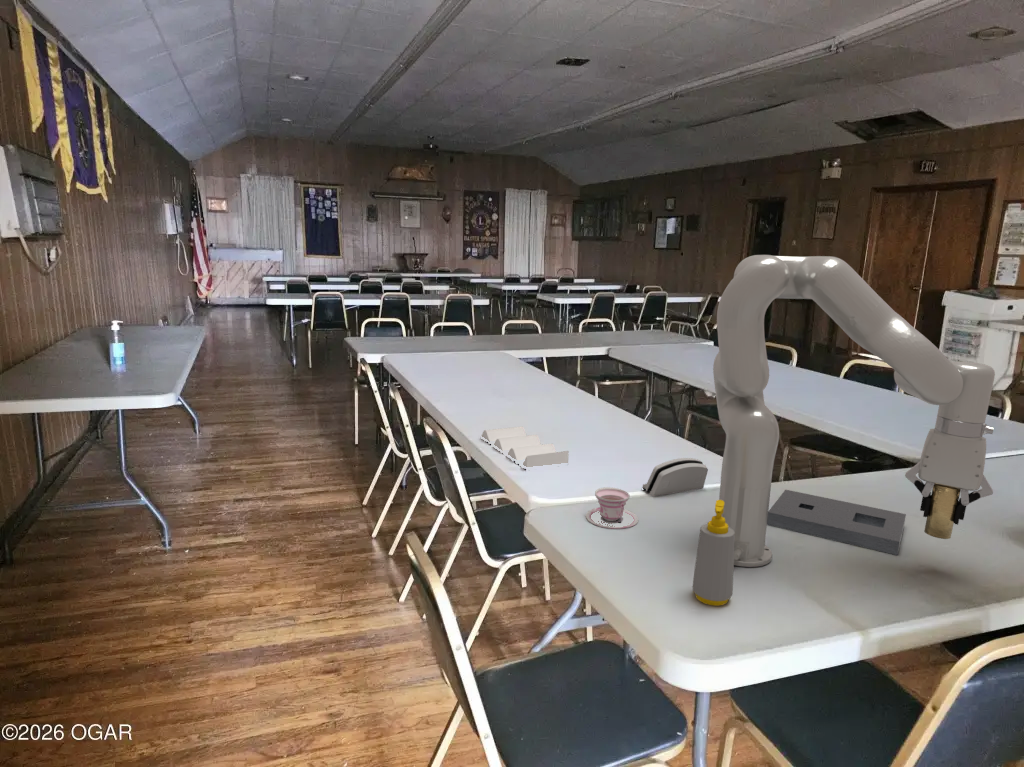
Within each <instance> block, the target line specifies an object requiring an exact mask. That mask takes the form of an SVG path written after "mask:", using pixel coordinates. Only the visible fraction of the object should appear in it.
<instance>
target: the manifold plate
mask: <svg viewBox="0 0 1024 767" xmlns="http://www.w3.org/2000/svg"><path fill="white" fill-rule="evenodd" d="M906 516H907V514H906V513H902V512H897V511H892V510H889V509H888V510H887V509H883V508H878V507H874V506H873V507H872V506H867V505H863V504H858V503H853V502H849V501H842V500H838V499H834V498H828V497H824V496H819V495H814V494H810V493H809V494H808V493H804V492H800V491H799V492H798V491H794V490H790V489H784V491H783V492H782V493H781V495H779V497H778V498H777V500H776V501H775V502H774V504H773V505H772V506H771V508H770V509H769V510H768V519H767V526H771V527H775V528H779V529H780V528H781V529H784V530H789V531H793V532H797V533H801V534H806V535H810V536H814V537H818V538H822V539H825V540H832V541H835V542H838V543H843V544H848V545H852V546H856V547H860V548H865V549H869V550H873V551H878V552H882V553H885V554H886V553H887V554H891V555H895V556H899V555H898V554H899V550H900V546H901V541H902V537H903V532H904V529H905V523H906V519H907V518H906Z"/></svg>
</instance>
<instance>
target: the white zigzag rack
mask: <svg viewBox="0 0 1024 767" xmlns="http://www.w3.org/2000/svg"><path fill="white" fill-rule="evenodd" d="M481 436H482V437H484V438H485V439H487V440H488V441H489V442H490V441H495V443H494V445H495V446H497V447H498V448H499V449H501V450H502V451H504V450H509V452H508V455H510V456H511V457H512V458H514V459H516V460H523V459H525V461H524V462H523V465H524V466H526V467H533V466H543V465H552V464H561V463H568V464H569V457H570V456H569V455H570V454H569V452H570V451H569V450H565V451H557V450H556V447H555V445H554V443H545V444H542V443H541V440H540V438H539V435H538V434H529V435H527V433H526V430H525V427H524V426H514V427H503V428H493V429H485V430H483V431H482V434H481Z"/></svg>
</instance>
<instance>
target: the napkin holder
mask: <svg viewBox="0 0 1024 767" xmlns="http://www.w3.org/2000/svg"><path fill="white" fill-rule="evenodd" d="M708 471H709V469H708V467H707V465H706V464H704V462H703V461H701V459H697V458H693V457H692V458H691V457H681V458H680V457H678V458H676V459H671V460H667V461H665V462H662V463H660V464H658V465H656V466H654V468H653V470H652V472H651V474H650V476H649V478H648V480H647V482H646V483H644V484H642V486H641V489H642V488H643V489H646V490H645V491H646V492H649V495H650V497H653V496H654V497H658V496H666V495H671V494H676V493H682V492H688V491H692V490H694V491H695V490H699V489H700V490H701V489H704V486H705V483H706V478H707V475H708Z"/></svg>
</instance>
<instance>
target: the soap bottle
mask: <svg viewBox="0 0 1024 767" xmlns="http://www.w3.org/2000/svg"><path fill="white" fill-rule="evenodd" d="M723 511H724V501H723V500H719V499H717V500H715V506H714V512H715V515H714V516H712V517H711V519H710V521H708V522H707V523H706V524H703V525H701V527H700V529H699V537H698V544H697V552H696V557H695V558H696V559H695V566H694V573H693V580H692V586H691V587H692V591H693V592H694V593H695V594H694V595H695V598H696V599H697V600H698V601H700V602H701V603H703V604H705V605H708V606H713V607H714V606H715V607H718V606H720V607H721V606H724V605H726V604H727V603H728V602H729V599H731V598H732V597H733V595H734V594H733V590H734V587H733V585H734V566H735V565H734V541H735V532H734V530H733V529H731V528H730V527H728V524H727V523H725V518H724V517H722V514H723Z"/></svg>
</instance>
